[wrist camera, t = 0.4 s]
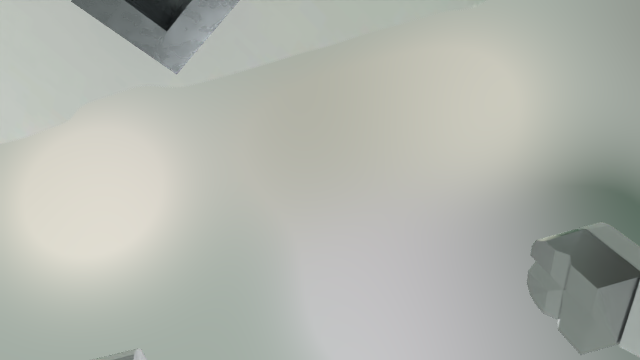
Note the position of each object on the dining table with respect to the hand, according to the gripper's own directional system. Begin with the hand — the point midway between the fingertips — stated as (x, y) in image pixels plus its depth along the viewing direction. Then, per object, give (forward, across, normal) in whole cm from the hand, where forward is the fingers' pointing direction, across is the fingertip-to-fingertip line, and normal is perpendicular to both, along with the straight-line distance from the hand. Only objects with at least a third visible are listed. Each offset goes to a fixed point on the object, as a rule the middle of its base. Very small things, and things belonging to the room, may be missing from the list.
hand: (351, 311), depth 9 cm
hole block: (+50, +6, -2) cm, 50 cm away
